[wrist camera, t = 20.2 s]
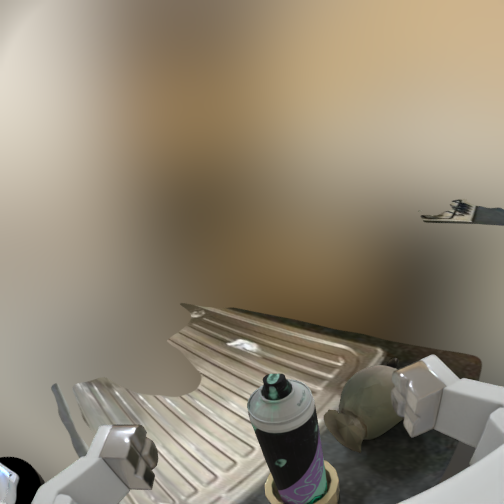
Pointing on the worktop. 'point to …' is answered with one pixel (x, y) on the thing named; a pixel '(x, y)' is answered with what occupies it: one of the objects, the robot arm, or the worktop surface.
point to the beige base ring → (328, 500)
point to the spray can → (289, 438)
